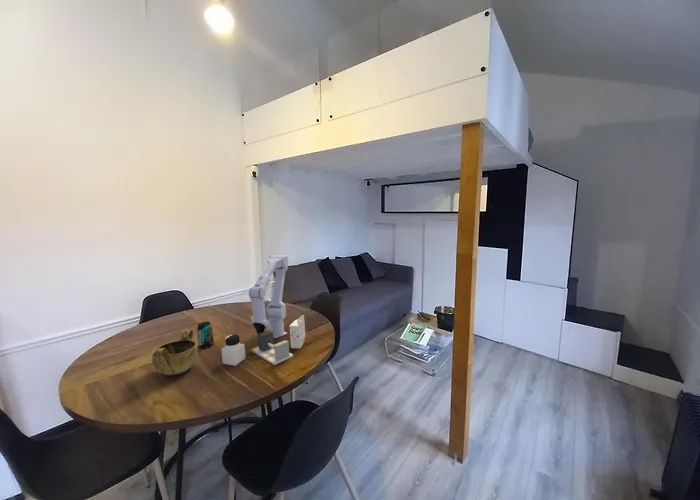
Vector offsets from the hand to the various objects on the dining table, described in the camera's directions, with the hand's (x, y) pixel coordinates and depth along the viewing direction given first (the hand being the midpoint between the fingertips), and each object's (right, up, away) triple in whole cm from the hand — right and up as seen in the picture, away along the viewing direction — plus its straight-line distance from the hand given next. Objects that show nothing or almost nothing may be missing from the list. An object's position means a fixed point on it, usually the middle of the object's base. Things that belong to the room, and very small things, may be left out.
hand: (260, 336), depth 142 cm
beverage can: (-30, -7, +5) cm, 31 cm away
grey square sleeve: (+3, -5, -3) cm, 6 cm away
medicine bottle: (-9, -8, -11) cm, 16 cm away
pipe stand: (+7, -6, -6) cm, 11 cm away
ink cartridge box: (+18, -5, +3) cm, 19 cm away
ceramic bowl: (-30, -10, -18) cm, 37 cm away
